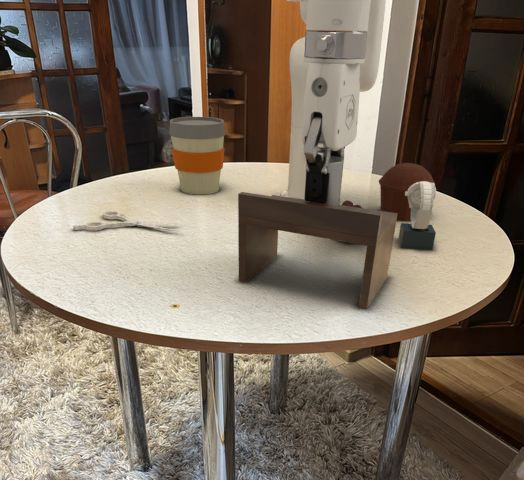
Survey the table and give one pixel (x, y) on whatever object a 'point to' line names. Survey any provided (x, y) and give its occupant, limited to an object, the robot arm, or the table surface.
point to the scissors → (119, 223)
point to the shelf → (313, 233)
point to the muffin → (400, 188)
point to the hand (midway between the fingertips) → (322, 195)
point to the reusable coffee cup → (198, 152)
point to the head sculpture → (419, 217)
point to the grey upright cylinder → (334, 180)
